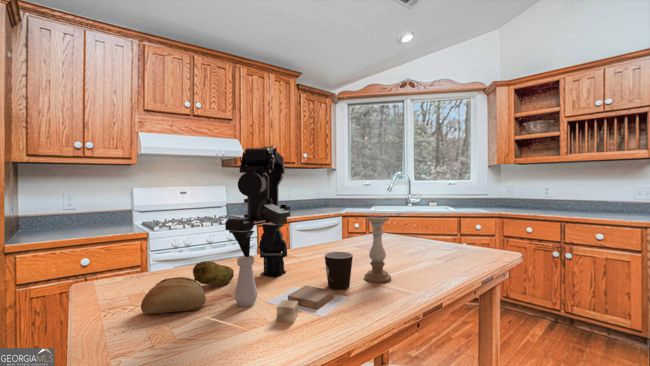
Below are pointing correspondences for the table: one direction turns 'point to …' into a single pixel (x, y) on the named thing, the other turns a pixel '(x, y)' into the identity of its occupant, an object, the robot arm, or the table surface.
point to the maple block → (287, 311)
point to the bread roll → (174, 296)
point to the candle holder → (377, 252)
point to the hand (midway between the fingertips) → (258, 253)
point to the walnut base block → (311, 297)
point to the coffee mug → (338, 269)
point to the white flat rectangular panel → (321, 311)
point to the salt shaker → (245, 282)
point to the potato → (212, 273)
